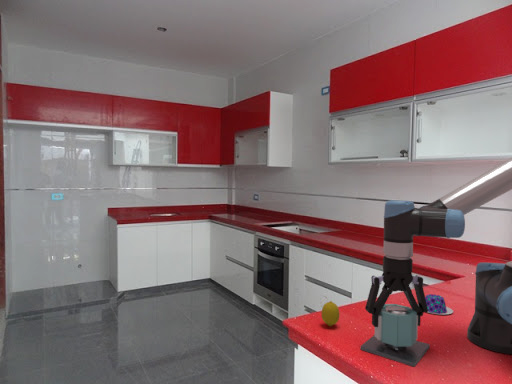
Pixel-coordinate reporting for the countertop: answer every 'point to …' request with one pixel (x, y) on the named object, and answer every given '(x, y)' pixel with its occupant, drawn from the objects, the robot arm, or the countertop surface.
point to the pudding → (437, 305)
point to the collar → (398, 327)
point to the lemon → (330, 313)
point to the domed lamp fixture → (399, 354)
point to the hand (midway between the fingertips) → (395, 337)
